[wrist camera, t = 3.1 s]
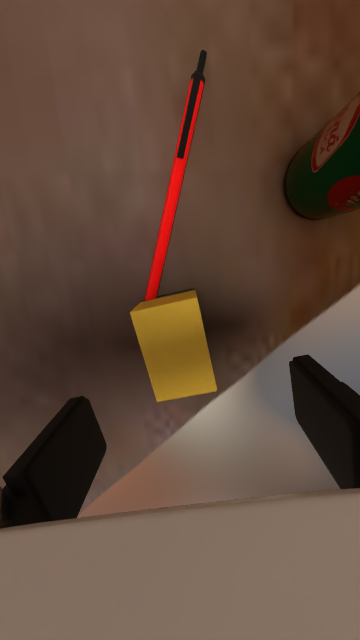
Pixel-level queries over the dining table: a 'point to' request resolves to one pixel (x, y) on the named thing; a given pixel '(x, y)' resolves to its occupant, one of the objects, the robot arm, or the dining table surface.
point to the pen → (176, 176)
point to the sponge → (174, 345)
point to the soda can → (328, 168)
